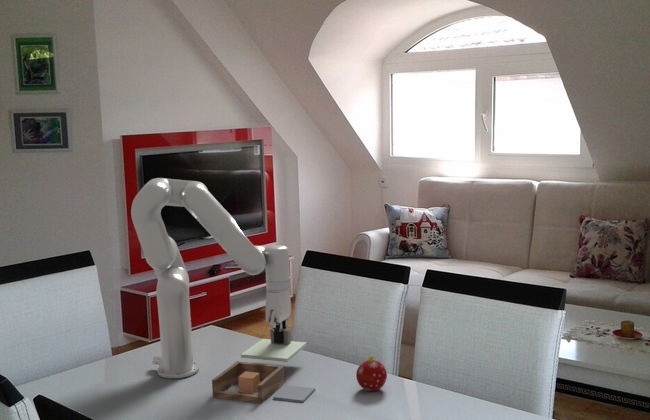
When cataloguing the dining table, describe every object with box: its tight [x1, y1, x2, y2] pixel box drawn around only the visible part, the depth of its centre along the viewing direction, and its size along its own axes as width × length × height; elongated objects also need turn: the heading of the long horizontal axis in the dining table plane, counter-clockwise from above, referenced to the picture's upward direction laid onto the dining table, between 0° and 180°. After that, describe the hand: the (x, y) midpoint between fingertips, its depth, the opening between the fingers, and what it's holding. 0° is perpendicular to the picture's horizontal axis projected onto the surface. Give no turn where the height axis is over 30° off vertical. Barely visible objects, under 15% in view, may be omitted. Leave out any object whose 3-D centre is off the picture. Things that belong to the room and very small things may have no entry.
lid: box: [240, 328, 308, 363], centre depth 221 cm, size 15×15×6 cm
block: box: [238, 371, 261, 394], centre depth 205 cm, size 4×4×4 cm
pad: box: [272, 384, 316, 403], centre depth 201 cm, size 9×9×1 cm
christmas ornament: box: [355, 355, 388, 392], centre depth 202 cm, size 9×9×10 cm
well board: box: [211, 361, 286, 404], centre depth 205 cm, size 15×15×5 cm
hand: (280, 341), depth 226 cm, fingers closed on lid, 2 cm apart
